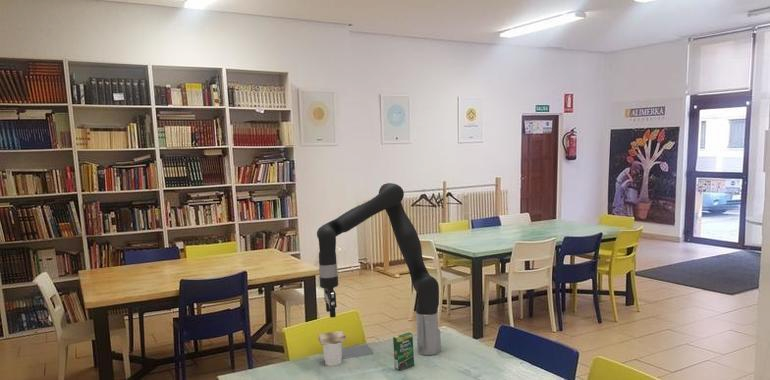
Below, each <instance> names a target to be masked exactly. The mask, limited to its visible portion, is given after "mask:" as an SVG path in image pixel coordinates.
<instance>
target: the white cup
mask: <svg viewBox="0 0 770 380" xmlns="http://www.w3.org/2000/svg"><path fill="white" fill-rule="evenodd" d="M342 348H343V342H341V343H335V344H328V345H322V349H323V359H324V364H325V365H326V366H328V367H335V366H339V365H341V364H342V363H343V361H342V360H343V359H342Z"/></svg>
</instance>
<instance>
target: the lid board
mask: <svg viewBox="0 0 770 380" xmlns="http://www.w3.org/2000/svg"><path fill="white" fill-rule="evenodd" d="M317 336H318V342H319V344H320V346H323V345H328V344H335V343H341V342H342V343H345V342H347V340H346V339H347V337H346V334H345V333H344V332H343V330H338V331H337V330H336V331H331V332H323V333H318V335H317Z"/></svg>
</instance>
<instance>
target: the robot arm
mask: <svg viewBox="0 0 770 380" xmlns="http://www.w3.org/2000/svg"><path fill="white" fill-rule="evenodd" d="M404 195H405V192H404V190H403V188H402V187H401V185H399V184H397V183H392V182H386V183H384V184H382V185H381V186H380V187H379V190H378V194H377V195H375V196H374V197H373V198H370V200H368V201H366V202H364V203H362V204H360V205H357V206H355V207H352V208H351V209H348V211H345V213H343V214H341V215H340V216H338V217H336V218H334V219H332V220H331V221H329V222H327V223H325V224H322V225H321V226H320V227H319V228H318V229H317V231H316V236H317V240H318V247H319V250H318V251H319V252H318V265H319V266H318V275H319V277H318V278H319V287H320V288H322V289H323V296H324V297H323V299H324V302H325V311H326V312H327V313H329V317H330V318H336V316H337V315H336V308H337V296H336V295H337V293H336V291H335V290H334V288H337V287H338V286H339V273H338V272H339V270H338V264H337V263H338V262H337V253H336V248H337V237H338V236H339V235H341V234H343V233H347V232H350V231H351V230H352V229H354V228H355V227H357V226H359V225H360V224H362V223H363V222H365V221H367V220H368V219H370V218H372V217H373V216H375V215H377V214H379V213H381V212H382V211H384V210H385V212H386V214H387V216H388V219H389V222H390V225H391V228H392V232H393V235H394V237H395V241H396V243H397V245H398V248H399V251H400V252H401V256H402V257H403V260H404V262H405V264H406V266H407V268H408V271H409V275H410V280H411V284H412V286H413V289H414V291H415V292H416V293H417V295H418V296H417V302H418V303H417V304H416V306H415V316H416V335H417V336H416V337H417V339H416V341H417V342H416V343H417V353H418V354H419V355H423V356H433V355H437V354H439V353H441V352H442V345H441V330H440V328H439V313H438V312H439V306H440V286H439V282H438V280H437V279H436V278H435V277H433V276H432V275H431V274H430V273H429V272H428V269H427V267H426V265H425V261H424V258H423V249H422V244H421V240H420V237H419V235H418V232H417V229H416V228H415V226H414V224H413V223H412V221H411V219H410V218H409V217H408V215H407V213H406V211H405V209H404V206H403V204H402V203H403V202H402V201H403V199H404Z"/></svg>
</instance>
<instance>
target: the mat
mask: <svg viewBox="0 0 770 380" xmlns="http://www.w3.org/2000/svg"><path fill="white" fill-rule="evenodd" d="M370 355H371V356H372V355H375V353H374V351H373V350H372V349H371V348H370V346H369V345H368V344H361V345H353V346H347V347H342V360H346V359H351V358H358V357H365V356H370Z"/></svg>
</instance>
